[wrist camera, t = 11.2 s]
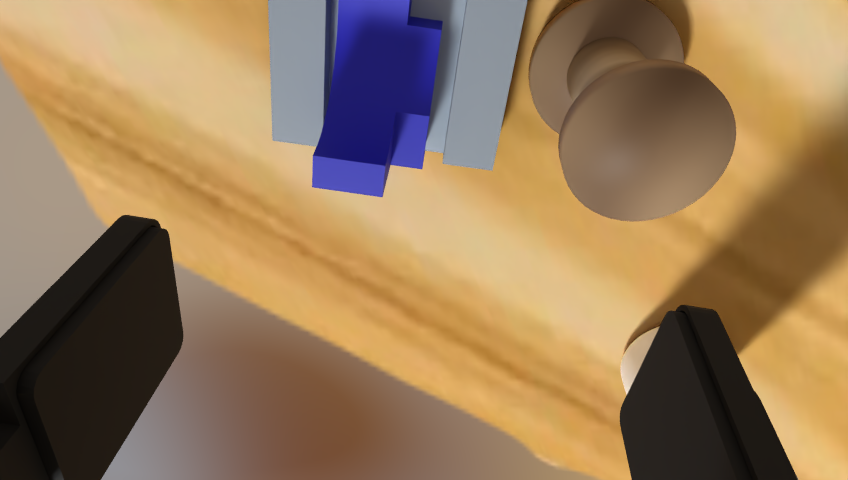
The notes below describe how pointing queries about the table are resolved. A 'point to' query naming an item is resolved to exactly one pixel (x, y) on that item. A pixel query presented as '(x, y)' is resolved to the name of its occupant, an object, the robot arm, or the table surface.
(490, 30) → the notched board
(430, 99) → the cable clip
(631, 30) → the door knob
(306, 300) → the table surface
